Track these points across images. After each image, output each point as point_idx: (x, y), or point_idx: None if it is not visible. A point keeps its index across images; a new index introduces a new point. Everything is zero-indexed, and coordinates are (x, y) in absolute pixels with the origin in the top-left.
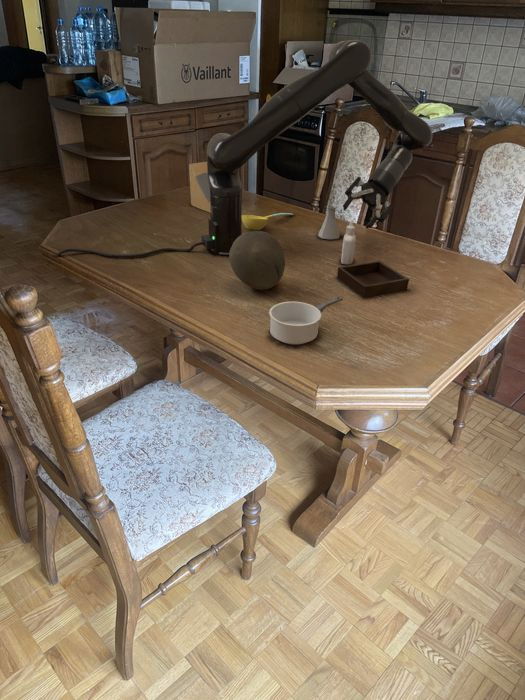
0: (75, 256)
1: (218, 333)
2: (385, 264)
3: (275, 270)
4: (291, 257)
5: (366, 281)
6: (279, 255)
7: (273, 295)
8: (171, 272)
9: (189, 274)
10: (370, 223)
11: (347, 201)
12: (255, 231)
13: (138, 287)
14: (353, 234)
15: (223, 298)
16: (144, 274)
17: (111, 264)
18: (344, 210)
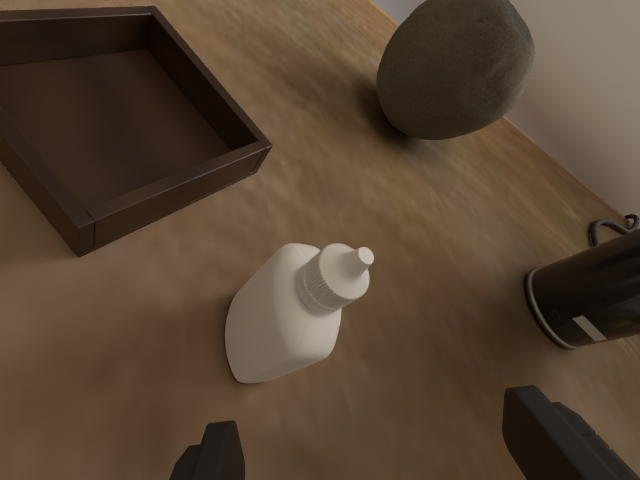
0: (621, 219)
1: (371, 2)
2: (40, 179)
3: (398, 29)
4: (429, 311)
5: (143, 139)
6: (423, 11)
7: (362, 89)
8: (526, 178)
9: (507, 173)
10: (214, 444)
11: (596, 450)
12: (525, 39)
13: (514, 129)
14: (298, 286)
15: None
16: (540, 169)
17: (584, 199)
18: (505, 427)
